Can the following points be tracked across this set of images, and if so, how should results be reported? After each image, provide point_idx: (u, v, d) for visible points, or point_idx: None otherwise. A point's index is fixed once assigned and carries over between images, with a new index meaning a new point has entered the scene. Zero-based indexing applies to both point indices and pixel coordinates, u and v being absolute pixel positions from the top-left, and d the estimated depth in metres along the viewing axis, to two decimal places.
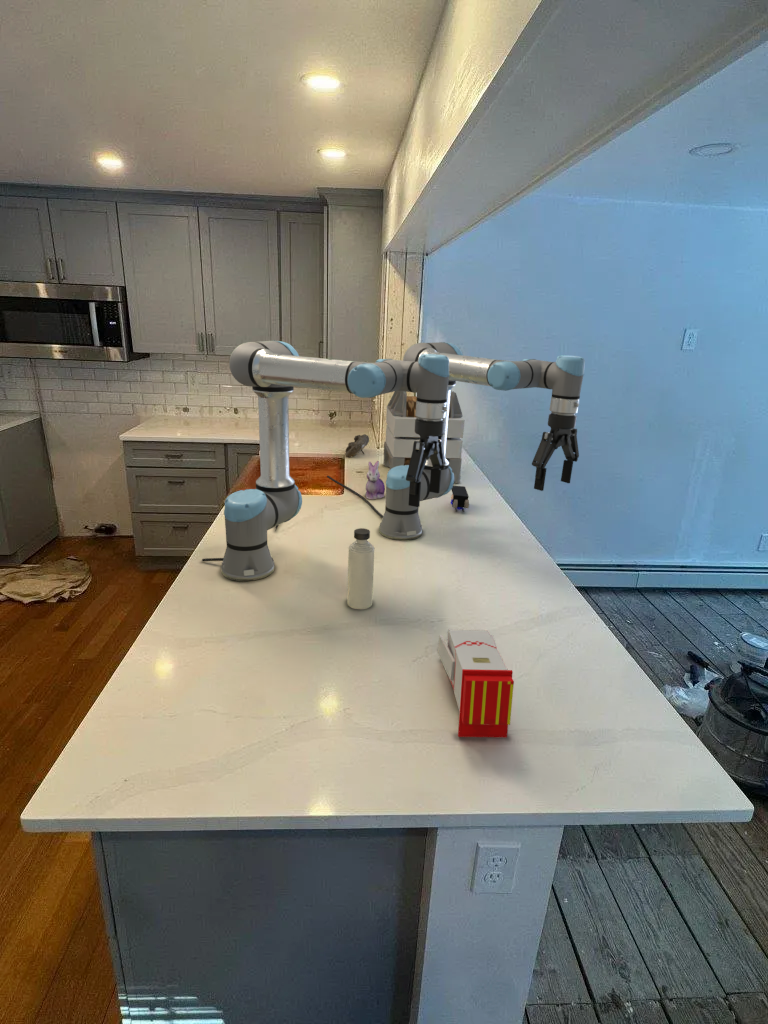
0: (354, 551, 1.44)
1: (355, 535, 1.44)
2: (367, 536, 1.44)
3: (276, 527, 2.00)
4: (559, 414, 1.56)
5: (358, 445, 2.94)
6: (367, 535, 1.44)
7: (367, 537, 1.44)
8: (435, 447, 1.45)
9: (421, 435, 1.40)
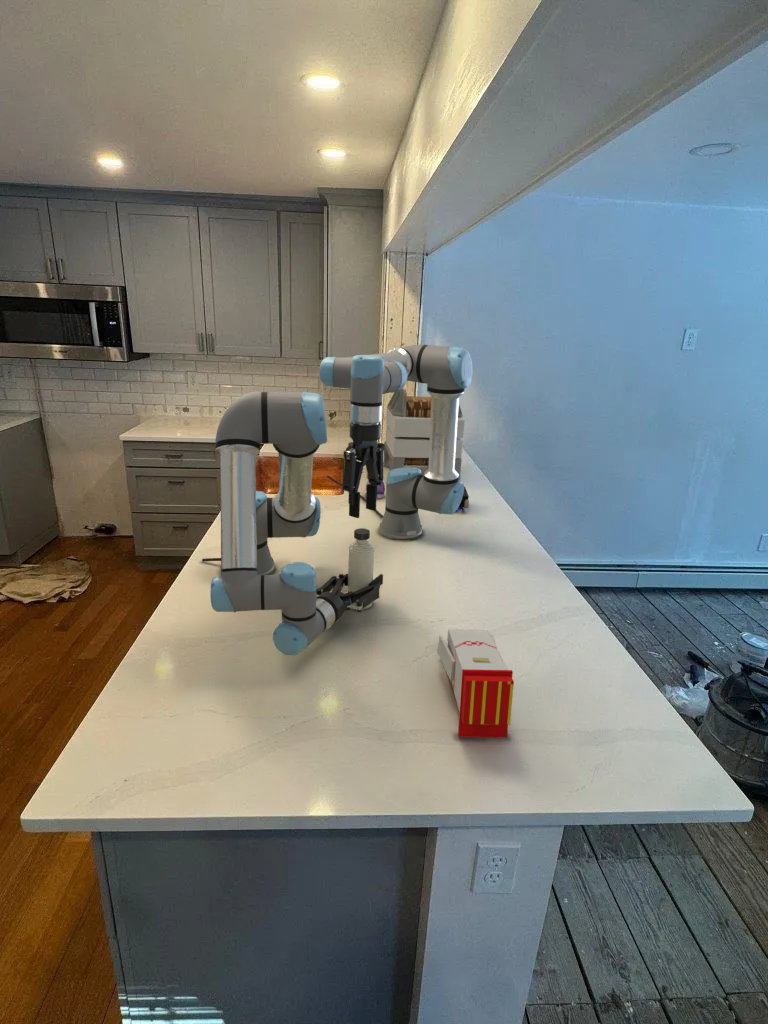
0: (354, 551, 1.44)
1: (355, 535, 1.44)
2: (367, 536, 1.44)
3: None
4: None
5: None
6: (367, 535, 1.44)
7: (367, 537, 1.44)
8: None
9: None
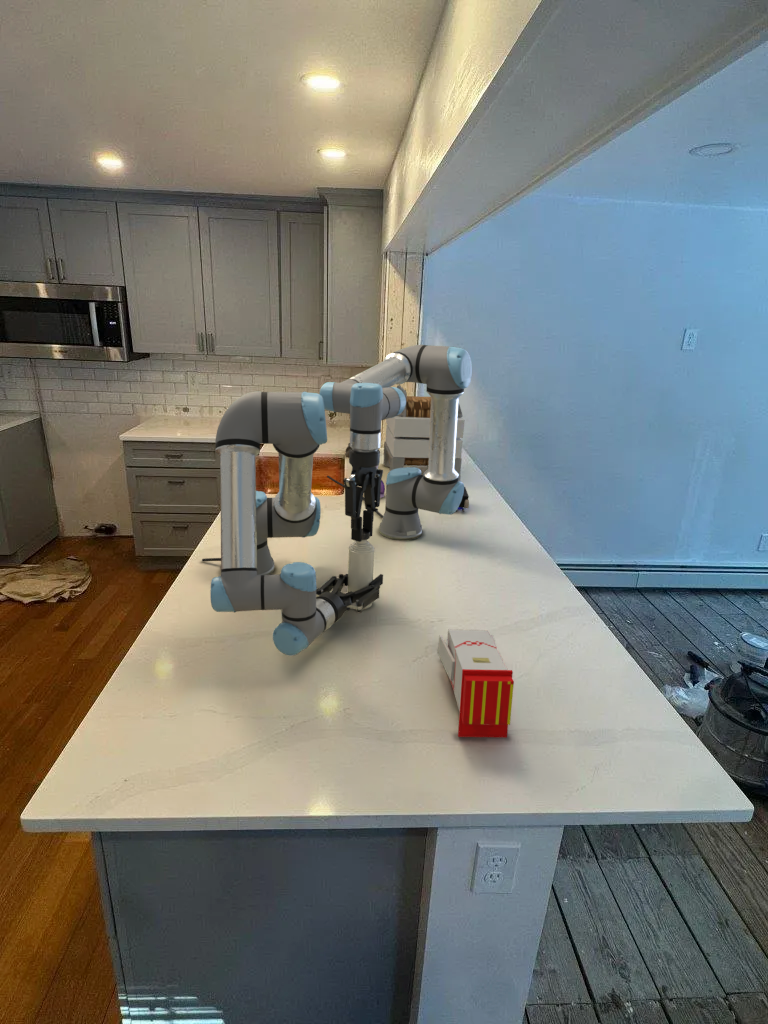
0: (354, 551, 1.44)
1: None
2: (367, 536, 1.44)
3: None
4: None
5: None
6: (367, 535, 1.44)
7: (367, 537, 1.44)
8: None
9: None
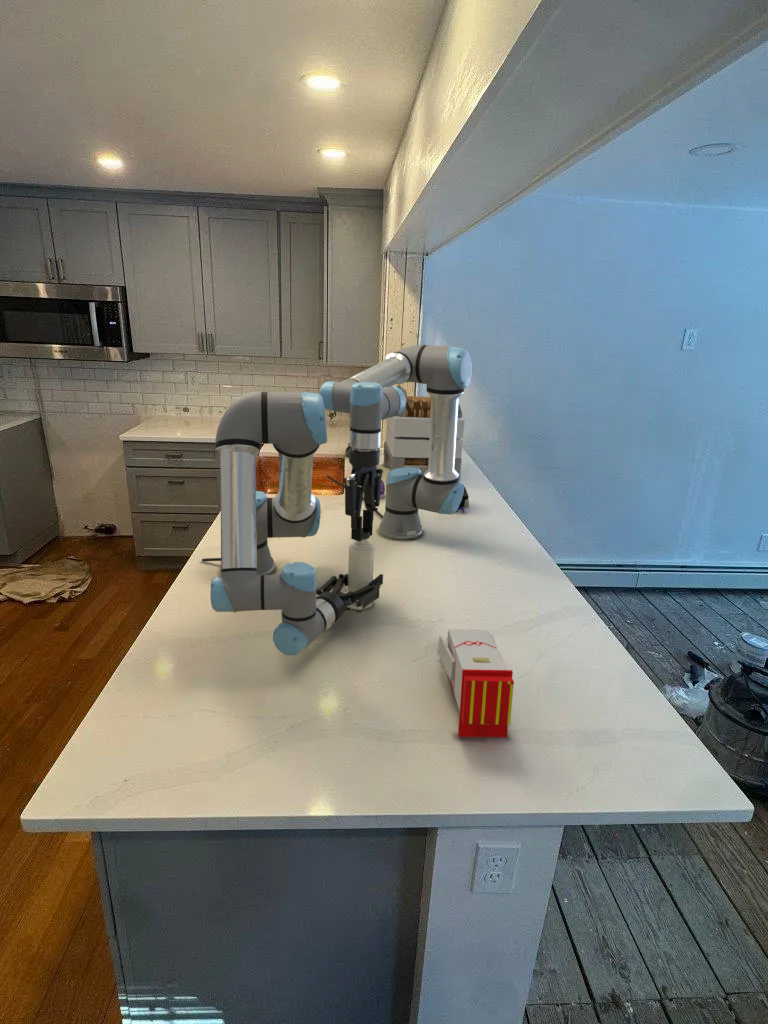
0: (354, 551, 1.44)
1: (369, 534, 1.45)
2: None
3: None
4: None
5: None
6: None
7: None
8: None
9: None
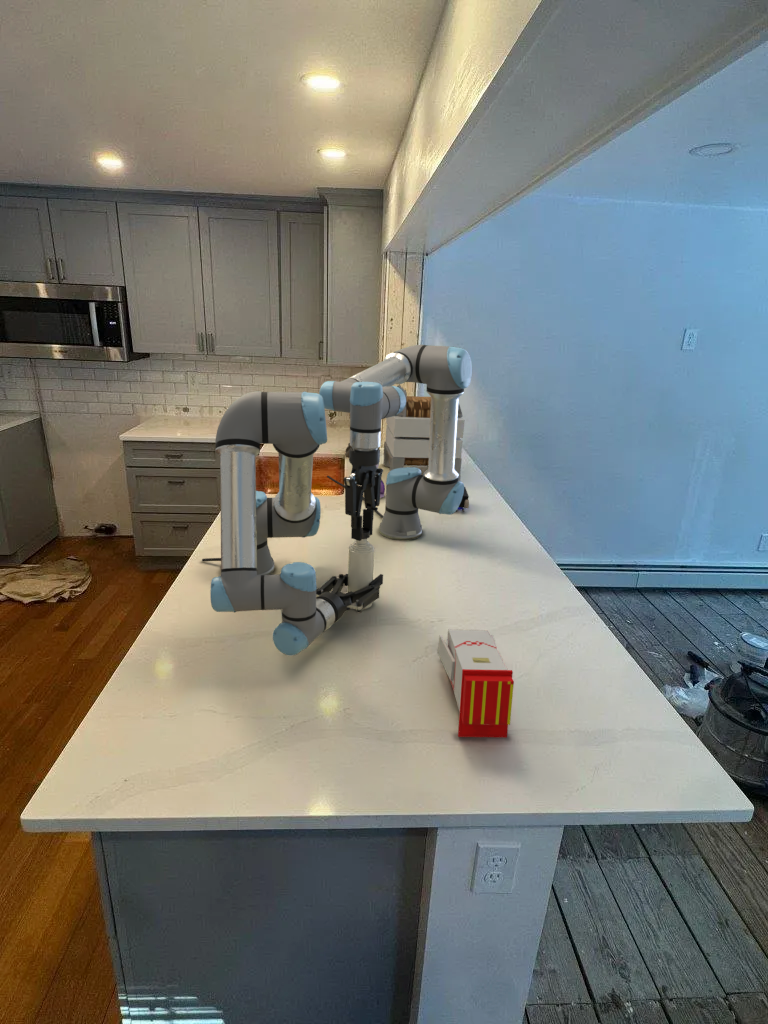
0: (354, 551, 1.44)
1: None
2: None
3: None
4: None
5: None
6: None
7: None
8: None
9: None
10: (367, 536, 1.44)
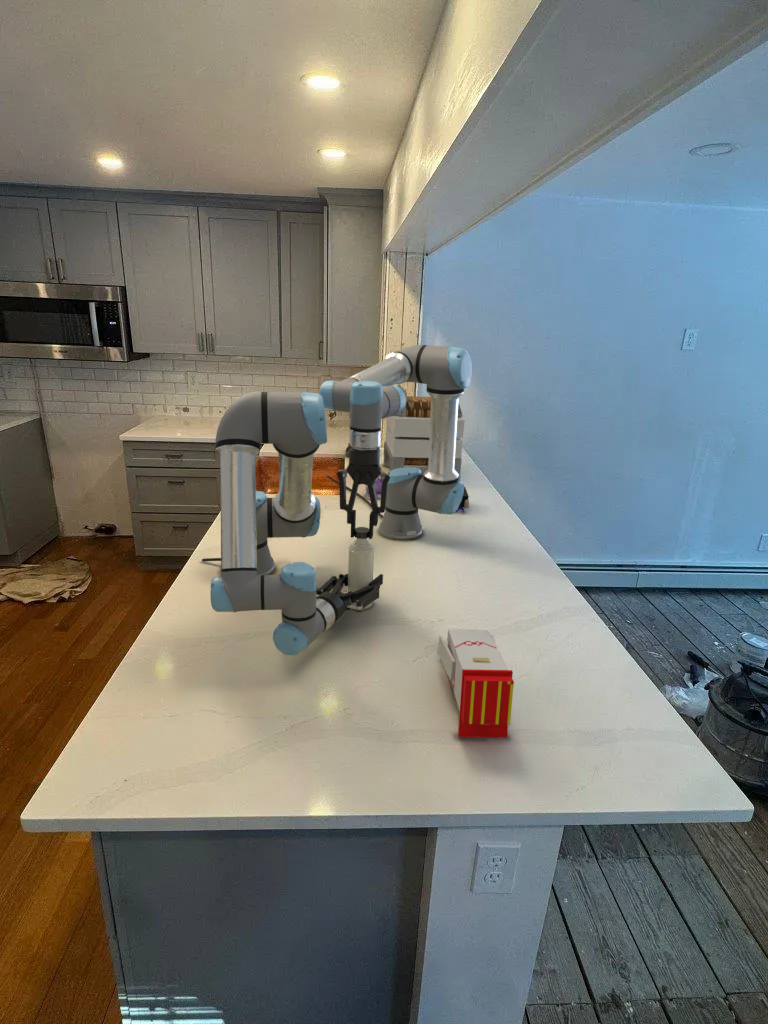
0: (354, 551, 1.44)
1: (357, 534, 1.44)
2: None
3: None
4: None
5: None
6: None
7: None
8: None
9: None
10: None
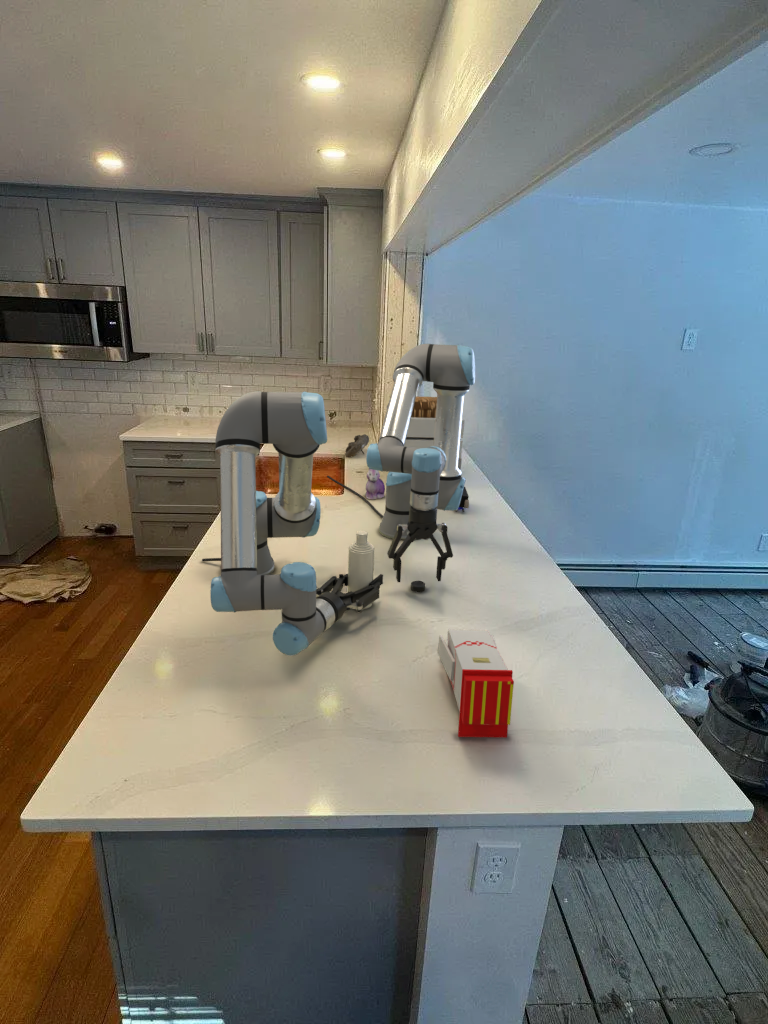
0: (354, 551, 1.44)
1: (416, 589, 1.59)
2: None
3: None
4: (413, 507, 1.52)
5: (358, 445, 2.94)
6: None
7: None
8: None
9: None
10: None
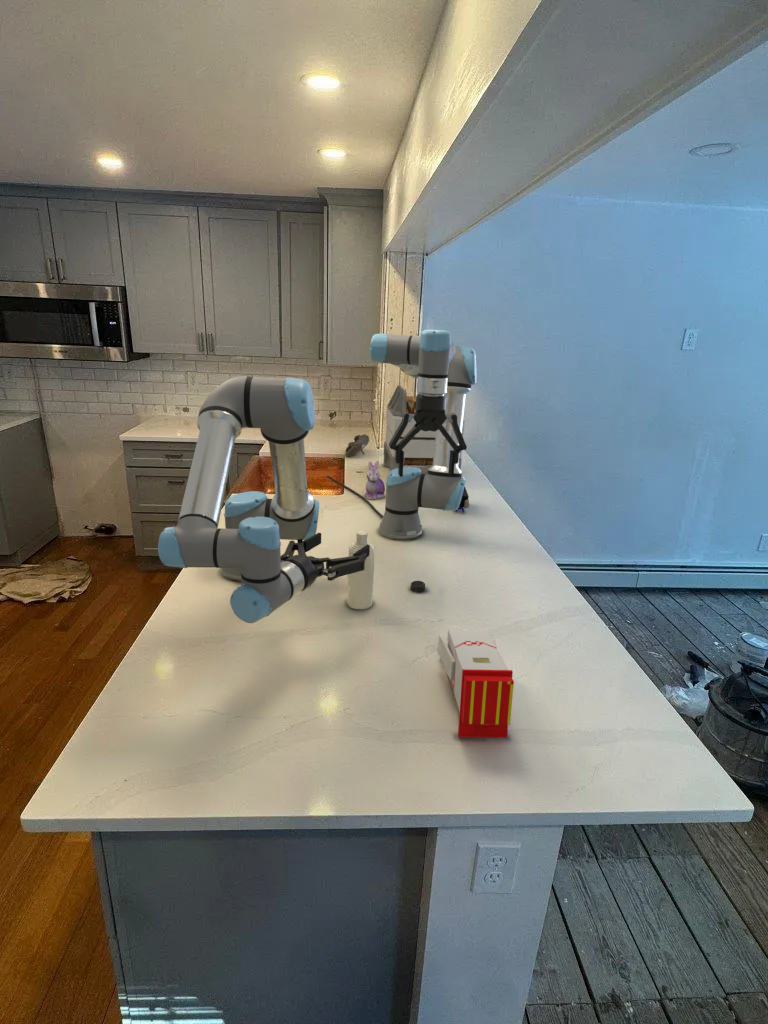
0: (354, 551, 1.44)
1: (416, 589, 1.59)
2: None
3: None
4: (420, 394, 1.41)
5: (358, 445, 2.94)
6: None
7: None
8: None
9: None
10: None
